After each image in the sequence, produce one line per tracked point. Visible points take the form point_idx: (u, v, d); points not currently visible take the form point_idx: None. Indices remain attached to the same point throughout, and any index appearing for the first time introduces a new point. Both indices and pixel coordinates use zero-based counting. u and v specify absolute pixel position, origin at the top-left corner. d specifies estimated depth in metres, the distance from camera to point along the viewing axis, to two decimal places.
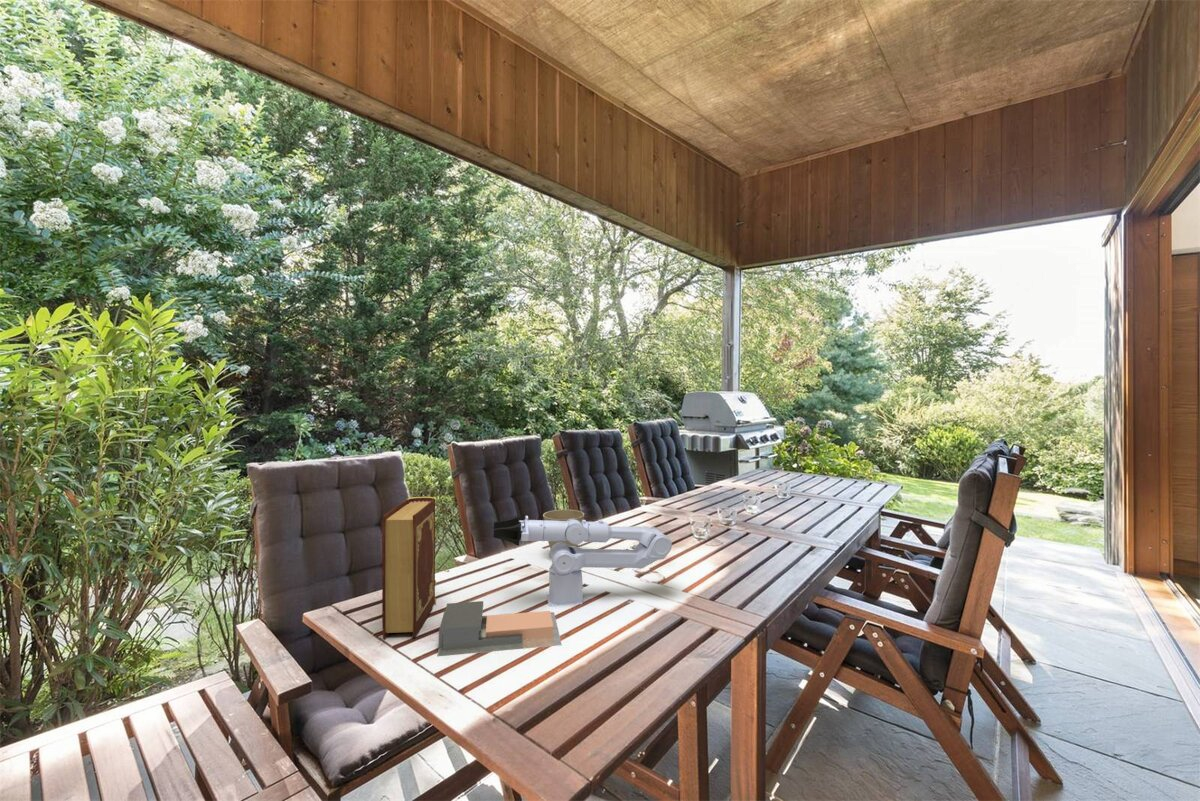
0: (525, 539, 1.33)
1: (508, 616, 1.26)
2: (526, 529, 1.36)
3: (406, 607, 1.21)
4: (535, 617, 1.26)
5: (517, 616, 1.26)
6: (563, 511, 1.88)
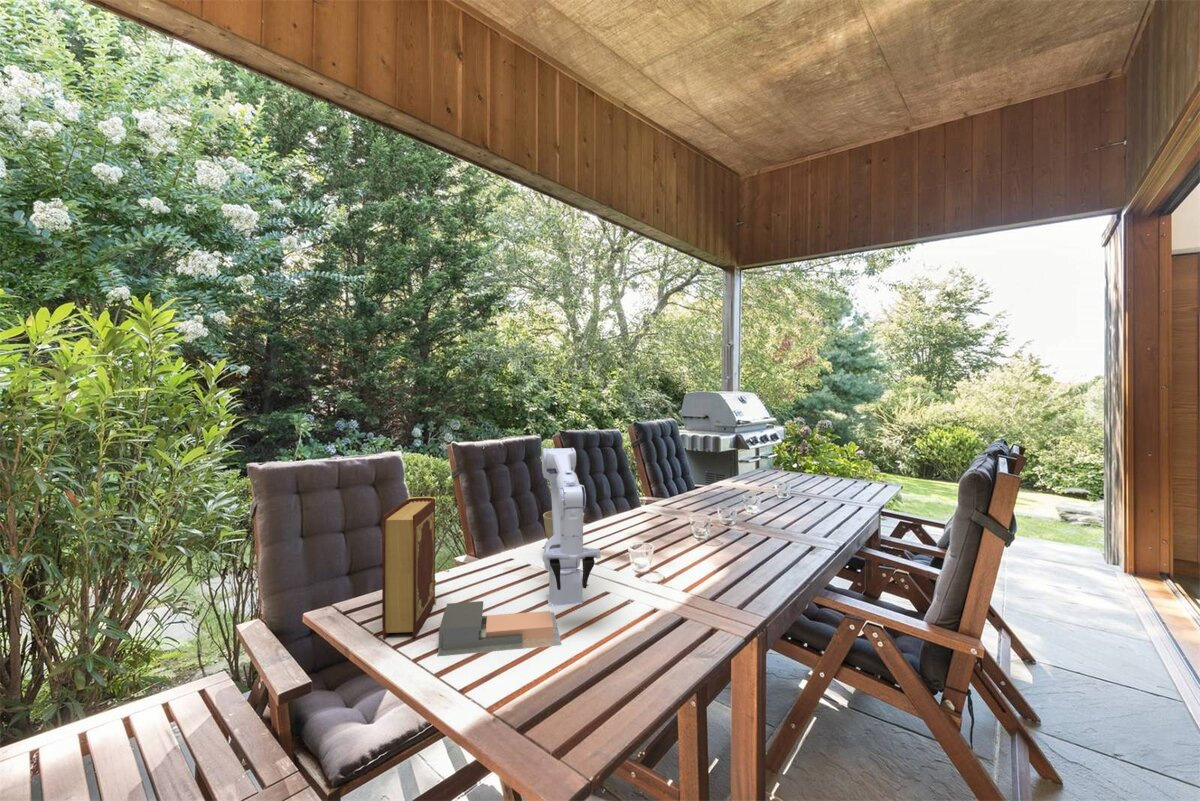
0: None
1: (508, 616, 1.26)
2: (591, 554, 1.25)
3: (406, 607, 1.21)
4: (535, 617, 1.26)
5: (517, 616, 1.26)
6: None
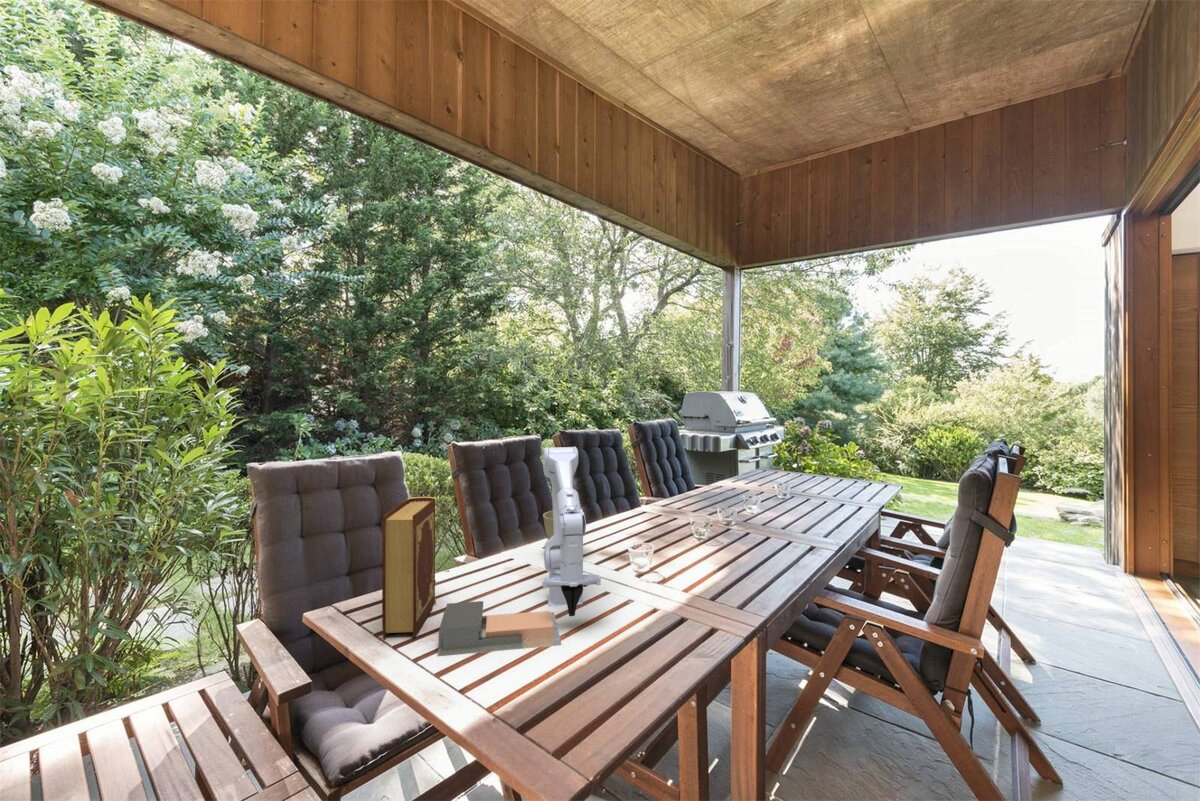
0: None
1: (508, 616, 1.26)
2: (591, 581, 1.25)
3: (406, 607, 1.21)
4: (535, 617, 1.26)
5: (517, 616, 1.26)
6: None
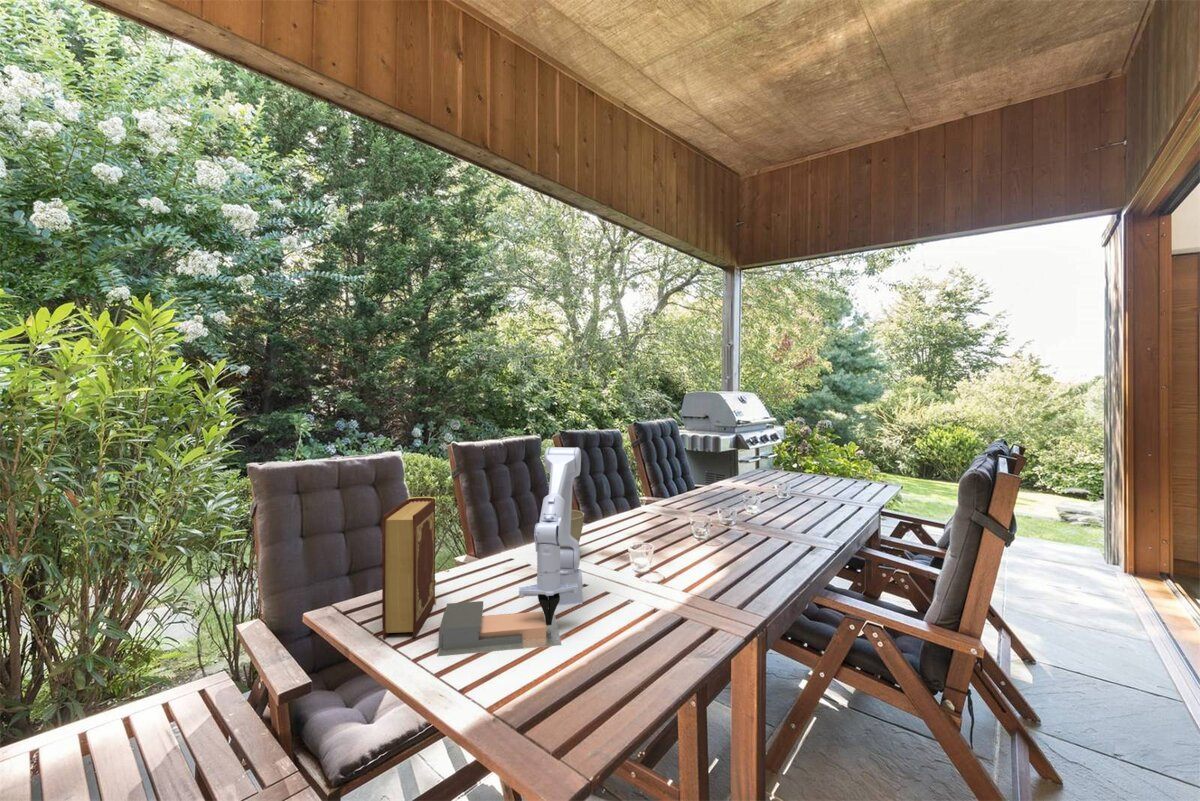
0: None
1: (501, 617, 1.26)
2: (568, 589, 1.24)
3: (406, 607, 1.21)
4: (528, 618, 1.25)
5: (510, 617, 1.26)
6: None
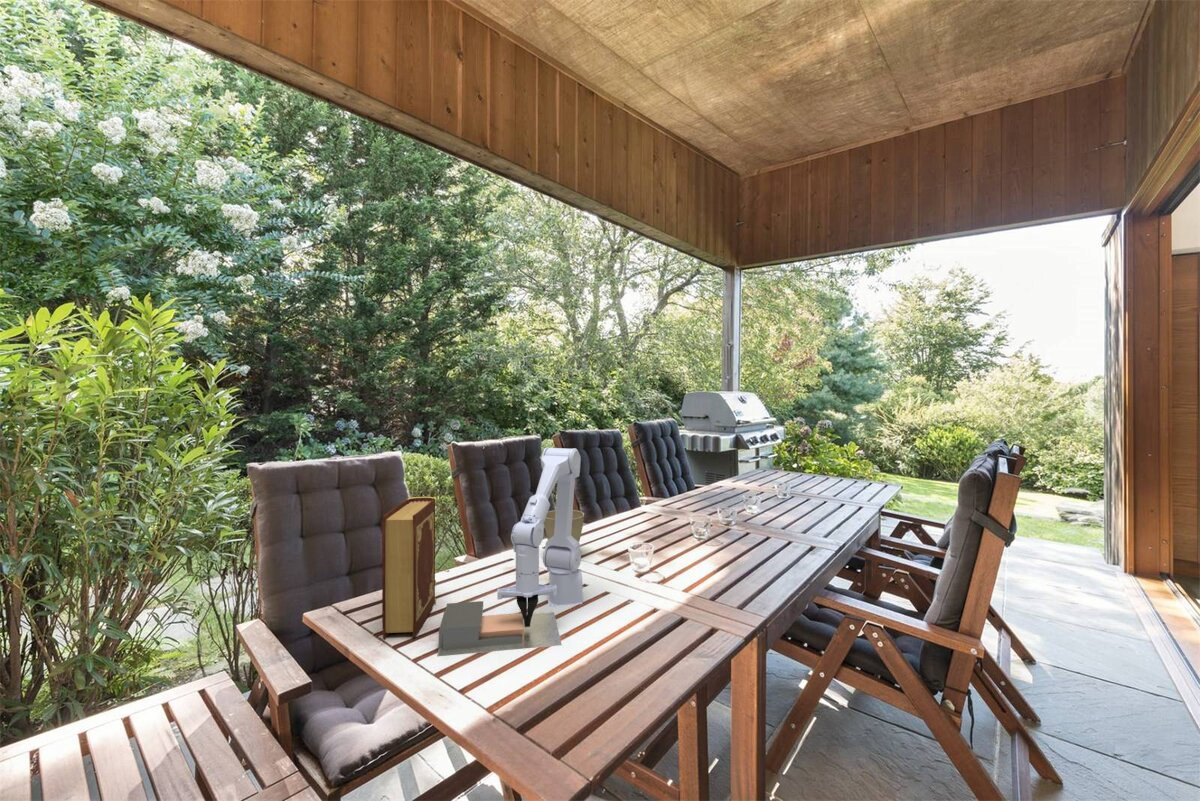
0: None
1: None
2: (547, 591, 1.23)
3: (406, 607, 1.21)
4: (506, 619, 1.24)
5: (488, 618, 1.25)
6: None
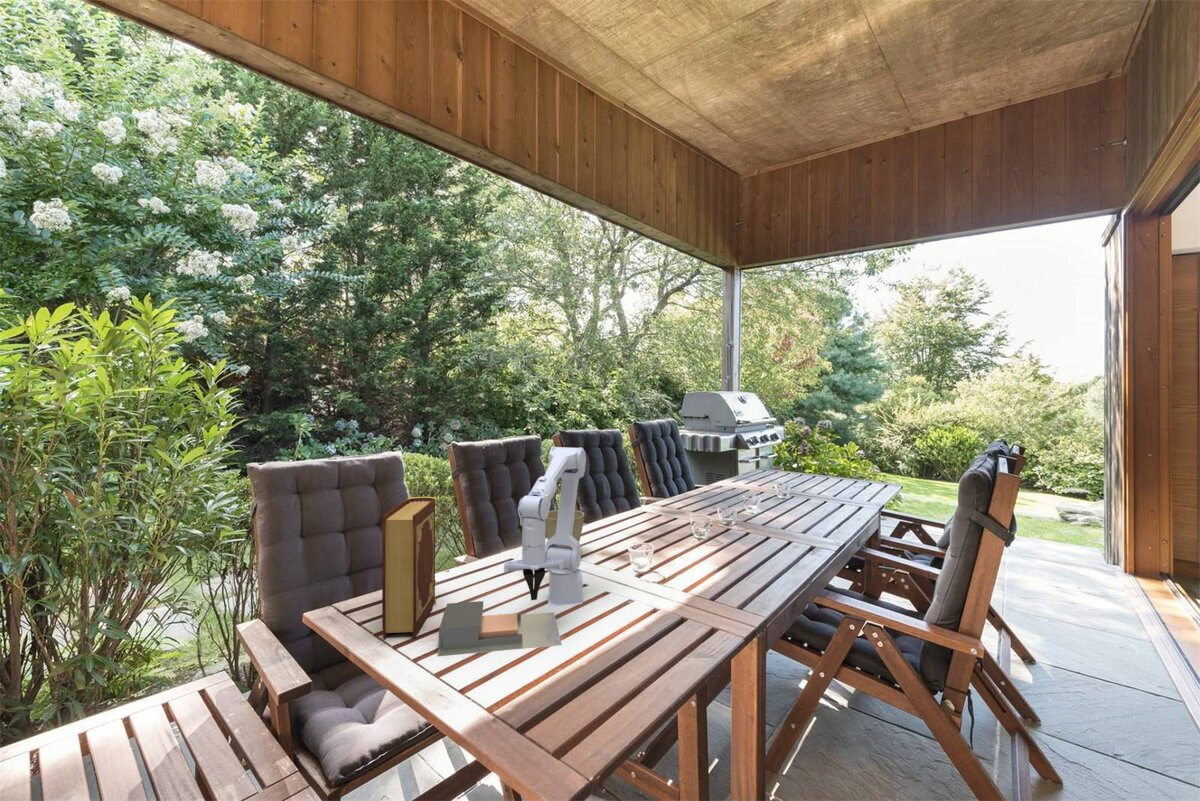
0: None
1: None
2: (553, 564, 1.24)
3: (406, 607, 1.21)
4: (501, 620, 1.24)
5: (483, 619, 1.25)
6: None
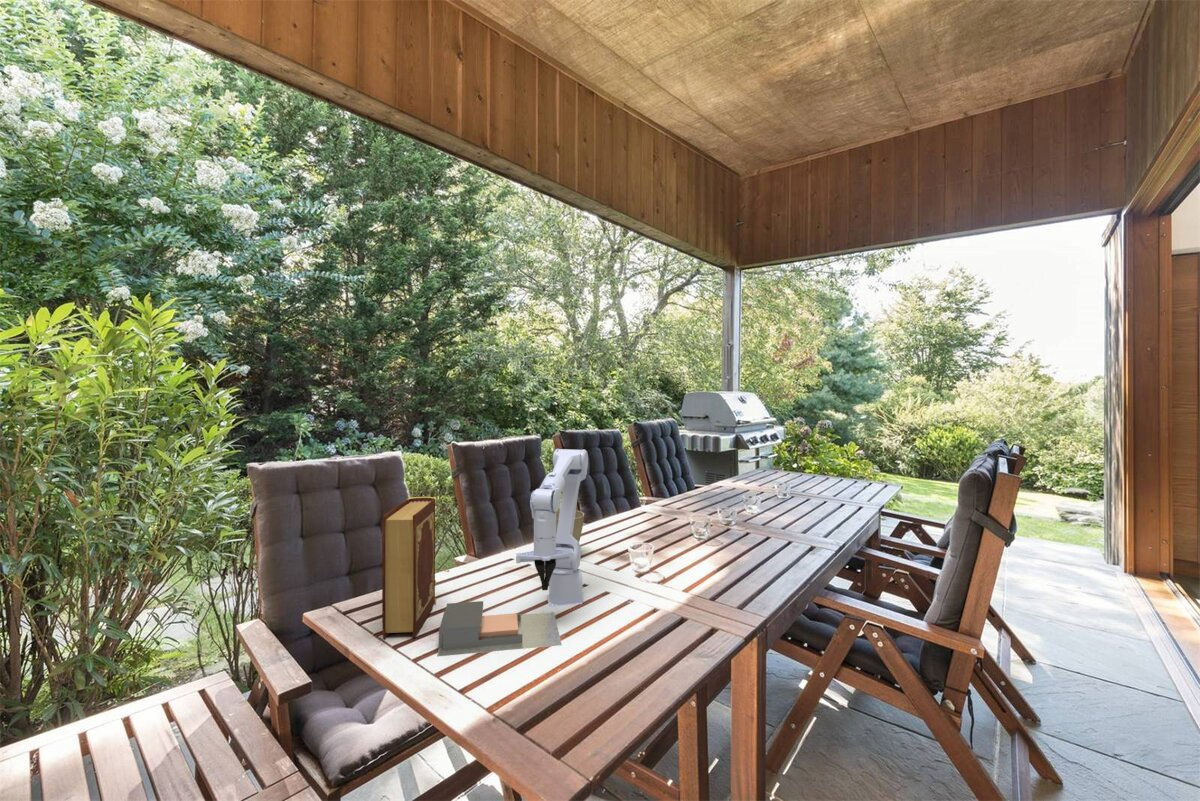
0: None
1: None
2: (564, 555, 1.27)
3: (406, 607, 1.21)
4: (501, 620, 1.24)
5: (483, 619, 1.25)
6: None
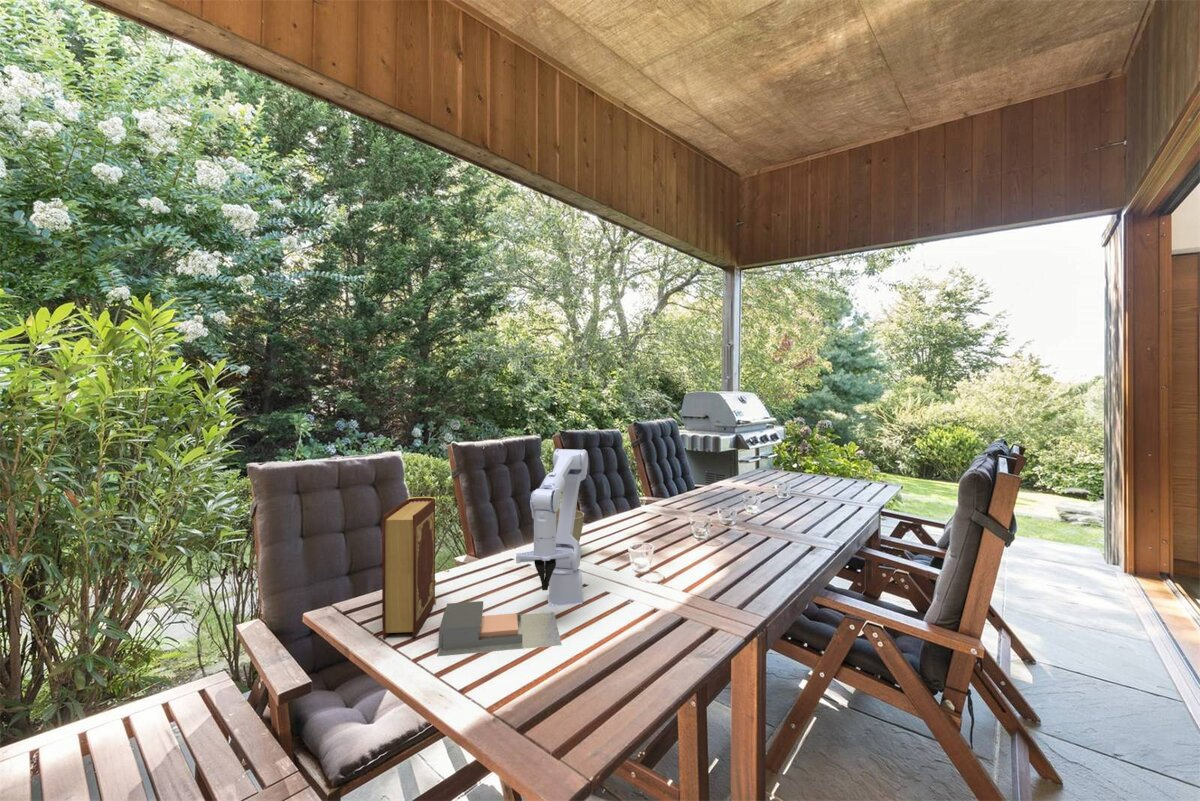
0: None
1: None
2: (564, 555, 1.27)
3: (406, 607, 1.21)
4: (501, 620, 1.24)
5: (483, 619, 1.25)
6: None
